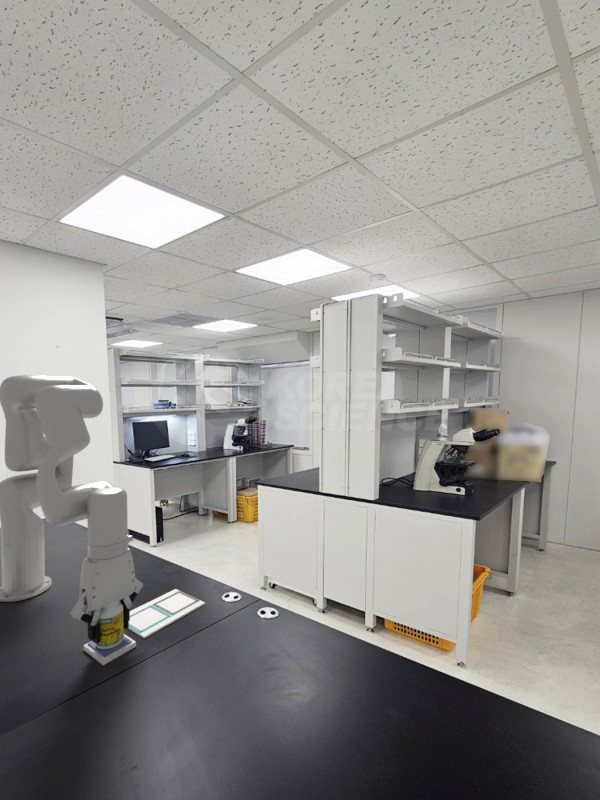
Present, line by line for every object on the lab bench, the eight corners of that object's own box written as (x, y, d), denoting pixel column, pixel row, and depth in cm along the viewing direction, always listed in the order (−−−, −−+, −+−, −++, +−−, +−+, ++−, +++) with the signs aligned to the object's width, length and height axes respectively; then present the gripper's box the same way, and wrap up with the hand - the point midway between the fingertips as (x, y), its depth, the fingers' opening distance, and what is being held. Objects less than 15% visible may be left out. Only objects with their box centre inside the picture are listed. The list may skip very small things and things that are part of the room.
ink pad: (83, 649, 81) (83, 643, 81) (116, 632, 87) (115, 627, 87) (103, 665, 77) (103, 658, 77) (136, 646, 82) (136, 640, 82)
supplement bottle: (121, 631, 86) (120, 587, 85) (125, 644, 81) (125, 598, 81) (94, 639, 83) (93, 595, 82) (96, 653, 78) (96, 606, 78)
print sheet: (115, 620, 92) (115, 618, 92) (175, 590, 106) (175, 588, 106) (144, 638, 85) (144, 636, 85) (205, 604, 99) (205, 602, 99)
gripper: (136, 532, 91) (137, 609, 91) (55, 557, 77) (57, 648, 77) (155, 539, 86) (156, 620, 87) (73, 567, 72) (75, 663, 73)
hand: (109, 632), depth 82 cm, fingers closed on supplement bottle, 5 cm apart
